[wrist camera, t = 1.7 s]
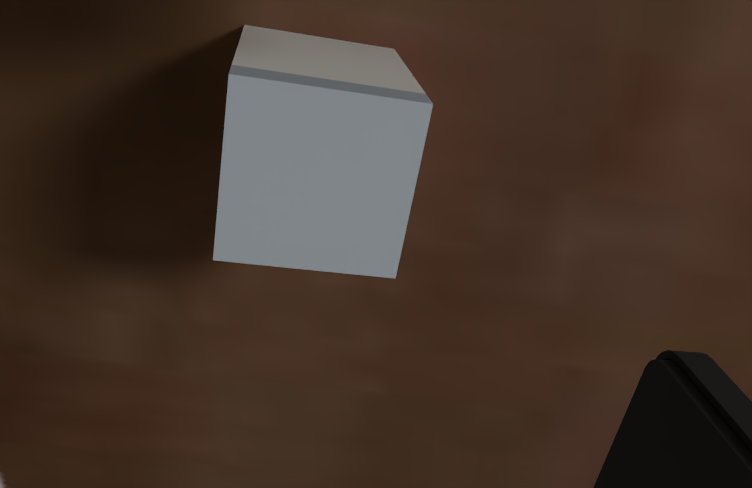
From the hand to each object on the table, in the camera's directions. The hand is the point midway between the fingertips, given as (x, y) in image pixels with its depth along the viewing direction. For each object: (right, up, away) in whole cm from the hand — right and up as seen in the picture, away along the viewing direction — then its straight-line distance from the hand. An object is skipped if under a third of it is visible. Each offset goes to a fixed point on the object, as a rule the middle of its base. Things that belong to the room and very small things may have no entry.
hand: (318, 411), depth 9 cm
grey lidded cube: (-1, +7, +15) cm, 16 cm away
